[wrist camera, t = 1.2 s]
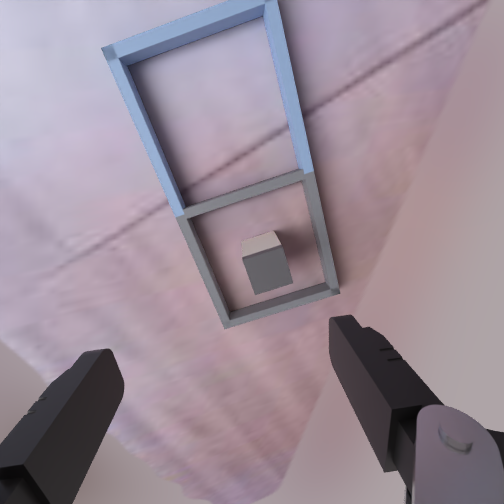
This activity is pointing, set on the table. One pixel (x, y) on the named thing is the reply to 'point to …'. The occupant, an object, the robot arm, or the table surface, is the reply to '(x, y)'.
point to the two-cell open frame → (186, 31)
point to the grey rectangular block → (265, 262)
